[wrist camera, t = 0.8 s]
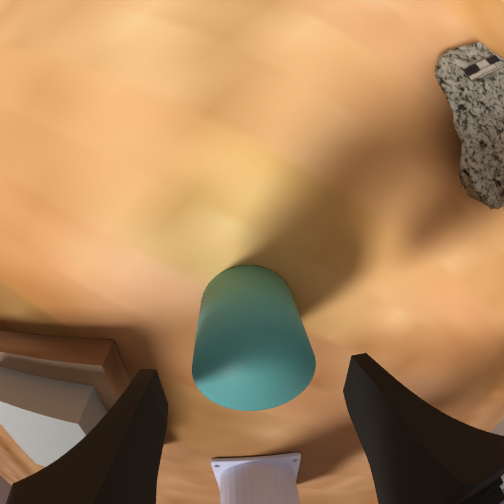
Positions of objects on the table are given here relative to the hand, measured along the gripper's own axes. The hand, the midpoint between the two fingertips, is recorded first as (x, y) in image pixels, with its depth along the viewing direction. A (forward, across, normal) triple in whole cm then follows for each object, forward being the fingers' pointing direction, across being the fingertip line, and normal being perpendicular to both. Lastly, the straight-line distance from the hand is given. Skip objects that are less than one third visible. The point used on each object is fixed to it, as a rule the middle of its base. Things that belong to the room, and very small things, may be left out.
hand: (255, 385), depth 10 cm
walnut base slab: (+6, +14, +8) cm, 17 cm away
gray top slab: (+3, +14, +8) cm, 16 cm away
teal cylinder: (+6, 0, 0) cm, 6 cm away
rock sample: (+6, -12, -14) cm, 20 cm away
